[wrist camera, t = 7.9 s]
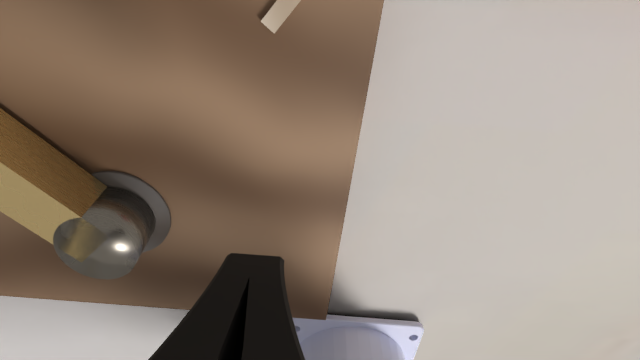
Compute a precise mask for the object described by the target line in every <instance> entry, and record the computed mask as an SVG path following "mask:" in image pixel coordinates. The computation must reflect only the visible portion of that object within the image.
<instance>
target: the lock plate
mask: <svg viewBox="0 0 640 360" xmlns="http://www.w3.org/2000/svg"><path fill="white" fill-rule="evenodd" d="M383 3H384V0H0V108H1V109H2V110H3V111H5V112H6V113H7V114H9V115H10V116H12V117H13V118H14V119H16V120H17V121H18V122H20V123H21V124H22V125H24V126H25V127H27V128H28V129H29V130H31V131H32V132H33V133H35V134H36V135H38V136H39V137H40V138H42V139H43V140H44V141H46V142H47V143H48V144H50V145H51V146H53V147H54V148H55V149H57V150H58V151H59V152H61V153H62V154H63V155H65V156H66V157H68V158H69V159H70V160H72V161H73V162H74V163H76V164H77V165H78V166H80V167H81V168H83V169H84V170H85V171H87V172H88V173H89V174H91V175H92V176H93V177H95V178H96V179H98V180H99V181H100V182H102V183H103V184H104V185H106V186H107V187H118V188H123V189H126V190H128V191H131V192H133V193H135V194H136V195H138V196H139V197H141V198H142V199H143V200H144V201H145V202H146V203H147V204H148V205H149V206H150V208H151V209H152V211H153V213H154V216H155V221H156V224H155V230H154V232H153V234H152V236H151V237H150V239H149V241H148V243H147V245H146V246H145V248H144V250H143V252H142V254H141V255H140V257H139V259H138V261H137V263H136V264H135V266H134V268H133V269H132V270H131V271H130V272H129V273H128V274H126V275H124V276H122V277H120V278H116V279H96V278H91V277H88V276H85V275H82V274H80V273H78V272H76V271H74V270H73V269H71V268H70V267H69V266H67V265H66V264H65V263H64V262H63V261H62V260H61V259H60V257H59V256H58V255H57V253H56V251H55V249H54V245H53V244H51V243H50V242H48V241H46V240H45V239H43V238H42V237H40V236H39V235H37V234H35V233H34V232H32V231H31V230H29V229H27V228H26V227H24V226H23V225H21V224H20V223H18V222H16V221H15V220H13V219H12V218H10V217H8V216H7V215H5V214H4V213H2V212H1V211H0V296H13V297H26V298H39V299H53V300H66V301H79V302H92V303H105V304H119V305H132V306H145V307H158V308H171V309H185V310H190V309H191V308H192V307H193V305H194V304H195V303H196V301H197V300H198V299H199V297H200V296H201V295H202V293H203V292H204V291H205V289H206V288H207V286H208V285H209V283H210V282H211V281H212V279H213V278H214V276H215V275H216V273H217V271H218V270H219V268H220V267H221V265H222V263H223V262H224V260H225V258H226V256H227V255H229V254H230V253H239V254H253V255H267V256H280V257H281V258H282V259H283V260H284V277H285V285H286V291H287V296H288V302H289V306H290V310H291V314H292V318H303V319H317V320H326V317H327V311H328V306H329V300H330V295H331V289H332V283H333V278H334V272H335V267H336V261H337V256H338V250H339V245H340V239H341V234H342V228H343V223H344V217H345V212H346V206H347V201H348V195H349V190H350V184H351V179H352V173H353V168H354V162H355V157H356V151H357V146H358V140H359V135H360V129H361V124H362V118H363V113H364V107H365V102H366V96H367V91H368V85H369V80H370V74H371V69H372V63H373V58H374V52H375V47H376V41H377V36H378V30H379V25H380V19H381V14H382V8H383Z"/></svg>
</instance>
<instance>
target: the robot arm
mask: <svg viewBox="0 0 640 360" xmlns="http://www.w3.org/2000/svg"><path fill="white" fill-rule="evenodd" d="M423 332H424V329H423V325H422V324H421V323H420V322H416V321H404V320H391V319H378V318H365V317H352V316H339V315H327V317H326V320H317V319H303V318H292V314H291V310H290V306H289V302H288V296H287V291H286V285H285V277H284V260H283V259H282V258H281V257H280V256H267V255H253V254H239V253H230V254H229V255H227V256H226V258H225V260H224V262H223V263H222V265H221V267H220V268H219V270H218V271H217V273H216V275H215V276H214V278H213V279H212V281H211V282H210V283H209V285H208V286H207V288H206V289H205V291H204V292H203V293H202V295H201V296H200V297H199V299H198V300H197V301H196V303H195V304H194V305H193V307H192V308H191V309H190V311H189V312H188V313H187V315H186V316H185V317H184V318H183V320H182V321H181V322H180V323H179V325H178V326H177V327H176V328H175V329H174V331H173V332H172V333H171V334H170V335H169V336H168V338H167V339H166V340H165V341H164V342H163V344H162V345H161V346H160V347H159V348H158V349H157V351H156V352H155V353H154V354H153V355H152V356H151V357H150V358H149V359H148V360H413V359H414V357H415V354H416V351H417V349H418V346H419V343H420V340H421V338H422V335H423Z"/></svg>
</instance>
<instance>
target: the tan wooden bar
mask: <svg viewBox="0 0 640 360" xmlns="http://www.w3.org/2000/svg"><path fill="white" fill-rule="evenodd" d="M0 211H1V212H2V213H4V214H5V215H7V216H8V217H10V218H12V219H13V220H15V221H16V222H18V223H20V224H21V225H23V226H24V227H26V228H27V229H29V230H31V231H32V232H34V233H35V234H37V235H39V236H40V237H42V238H43V239H45V240H46V241H48V242H50V243H51V244H53V245H54V249H55V251H56V253H57V255H58V256H59V257H60V259H61V260H62V261H63V262H64V263H65V264H66V265H67V266H69V267H70V268H71V269H73V270H74V271H76V272H78V273H80V274H82V275H85V276H88V277H91V278H96V279H116V278H120V277H122V276H124V275H126V274H128V273H129V272H130V271H131V270H132V269H133V268H134V266H135V264H136V263H137V261H138V259H139V257H140V255H141V254H142V252H143V250H144V248H145V246H146V245H147V243H148V241H149V239H150V237H151V236H152V234H153V232H154V230H155V224H156V221H155V216H154V213H153V211H152V209H151V208H150V206H149V205H148V204H147V203H146V202H145V201H144V200H143V199H142V198H141V197H139V196H138V195H136V194H135V193H133V192H131V191H128V190H126V189H123V188H118V187H107V186H106V185H104V184H103V183H102V182H100V181H99V180H98V179H96V178H95V177H93V176H92V175H91V174H89V173H88V172H87V171H85V170H84V169H83V168H81V167H80V166H78V165H77V164H76V163H74V162H73V161H72V160H70V159H69V158H68V157H66V156H65V155H63V154H62V153H61V152H59V151H58V150H57V149H55V148H54V147H53V146H51V145H50V144H48V143H47V142H46V141H44V140H43V139H42V138H40V137H39V136H38V135H36V134H35V133H33V132H32V131H31V130H29V129H28V128H27V127H25V126H24V125H22V124H21V123H20V122H18V121H17V120H16V119H14V118H13V117H12V116H10V115H9V114H7V113H6V112H5V111H3V110H2V109H1V108H0Z"/></svg>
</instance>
